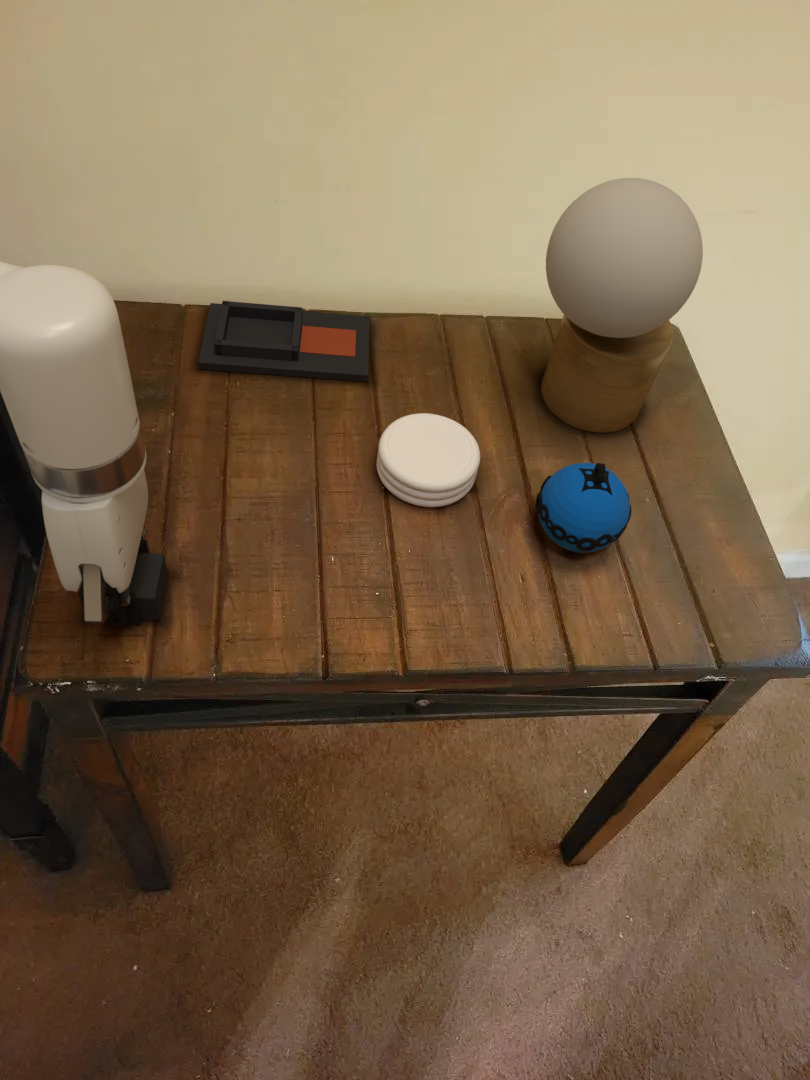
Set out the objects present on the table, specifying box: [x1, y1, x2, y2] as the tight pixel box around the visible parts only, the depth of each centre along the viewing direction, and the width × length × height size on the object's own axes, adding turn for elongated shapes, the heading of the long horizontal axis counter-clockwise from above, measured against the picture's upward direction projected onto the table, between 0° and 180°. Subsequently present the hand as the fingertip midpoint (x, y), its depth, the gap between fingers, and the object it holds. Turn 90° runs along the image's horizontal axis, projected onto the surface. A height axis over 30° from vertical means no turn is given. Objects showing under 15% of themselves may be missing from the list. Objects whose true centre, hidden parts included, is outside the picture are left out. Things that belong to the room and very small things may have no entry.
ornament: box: [534, 462, 632, 554], centre depth 75 cm, size 9×9×10 cm
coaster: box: [375, 412, 481, 508], centre depth 81 cm, size 10×10×4 cm
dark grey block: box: [77, 552, 169, 621], centre depth 68 cm, size 6×4×4 cm
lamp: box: [540, 177, 704, 434], centre depth 81 cm, size 15×14×25 cm
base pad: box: [197, 300, 370, 383], centre depth 90 cm, size 18×10×2 cm, turn 91°
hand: (127, 592), depth 69 cm, fingers closed on dark grey block, 4 cm apart
